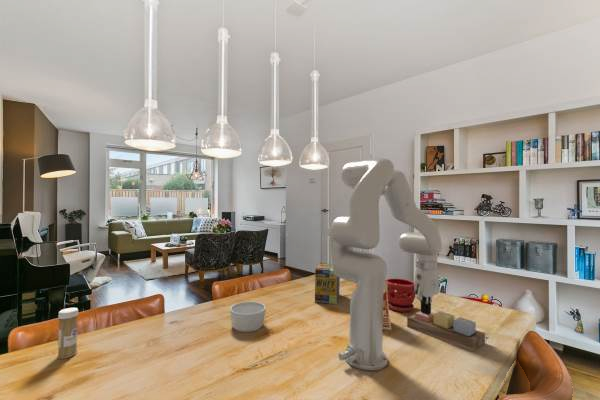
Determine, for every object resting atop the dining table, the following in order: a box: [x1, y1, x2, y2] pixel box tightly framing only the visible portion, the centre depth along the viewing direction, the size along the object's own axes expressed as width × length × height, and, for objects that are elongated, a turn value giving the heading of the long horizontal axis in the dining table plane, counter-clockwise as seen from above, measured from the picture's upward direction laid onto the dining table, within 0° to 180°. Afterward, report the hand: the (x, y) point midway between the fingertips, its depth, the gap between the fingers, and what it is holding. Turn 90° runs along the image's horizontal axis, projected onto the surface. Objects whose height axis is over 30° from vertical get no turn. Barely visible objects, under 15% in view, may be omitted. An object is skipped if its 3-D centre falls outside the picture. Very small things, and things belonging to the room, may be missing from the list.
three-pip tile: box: [415, 310, 435, 323], centre depth 110 cm, size 5×5×4 cm
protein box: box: [314, 262, 341, 305], centre depth 141 cm, size 10×15×16 cm
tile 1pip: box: [453, 316, 477, 336], centre depth 98 cm, size 5×5×4 cm
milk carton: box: [383, 279, 393, 331], centre depth 112 cm, size 9×9×20 cm
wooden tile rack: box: [406, 313, 486, 353], centre depth 104 cm, size 10×23×3 cm, turn 37°
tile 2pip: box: [433, 310, 455, 329], centre depth 104 cm, size 5×5×4 cm
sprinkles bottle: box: [57, 307, 79, 360], centre depth 86 cm, size 5×5×14 cm
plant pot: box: [386, 278, 417, 313], centre depth 130 cm, size 13×13×12 cm
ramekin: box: [229, 301, 267, 333], centre depth 108 cm, size 13×13×7 cm
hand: (425, 312), depth 110 cm, fingers closed
